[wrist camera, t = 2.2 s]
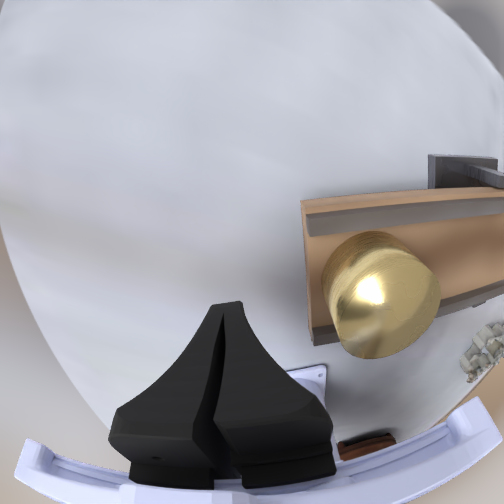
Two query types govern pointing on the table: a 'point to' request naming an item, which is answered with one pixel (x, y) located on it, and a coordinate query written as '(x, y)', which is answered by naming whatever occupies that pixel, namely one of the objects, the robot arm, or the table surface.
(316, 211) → the beam
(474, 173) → the pivot bracket
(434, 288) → the brass weight
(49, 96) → the table surface
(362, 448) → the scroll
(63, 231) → the table surface
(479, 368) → the egg carton
